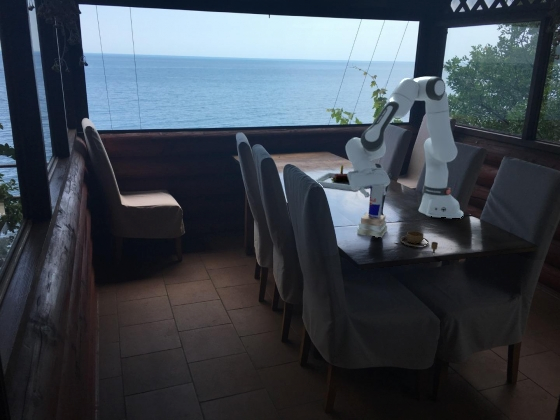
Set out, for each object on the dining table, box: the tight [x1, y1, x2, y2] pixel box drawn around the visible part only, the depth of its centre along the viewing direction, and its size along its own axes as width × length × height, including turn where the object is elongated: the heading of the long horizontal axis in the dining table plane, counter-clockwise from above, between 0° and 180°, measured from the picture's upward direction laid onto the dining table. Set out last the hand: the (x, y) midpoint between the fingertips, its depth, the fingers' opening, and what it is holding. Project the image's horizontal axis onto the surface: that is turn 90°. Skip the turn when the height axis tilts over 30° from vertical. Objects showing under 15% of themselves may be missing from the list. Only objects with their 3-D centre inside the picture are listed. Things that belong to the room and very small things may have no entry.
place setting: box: [400, 230, 439, 254], centre depth 209 cm, size 18×20×6 cm
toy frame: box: [315, 171, 358, 192], centre depth 313 cm, size 28×28×3 cm
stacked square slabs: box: [356, 212, 388, 238], centre depth 224 cm, size 11×11×8 cm
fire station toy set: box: [330, 165, 350, 185], centre depth 308 cm, size 14×20×11 cm
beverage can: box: [368, 184, 384, 218], centre depth 221 cm, size 6×6×15 cm
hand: (376, 195), depth 219 cm, fingers open, 8 cm apart
